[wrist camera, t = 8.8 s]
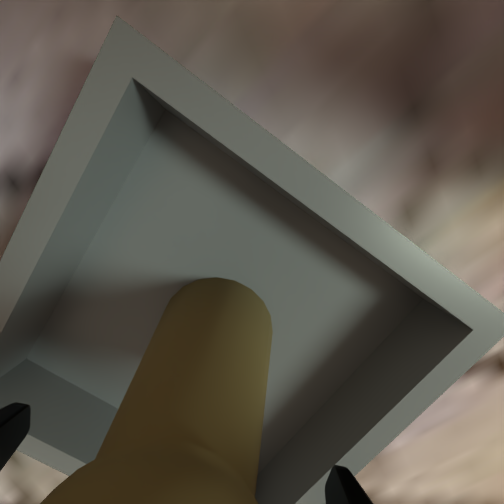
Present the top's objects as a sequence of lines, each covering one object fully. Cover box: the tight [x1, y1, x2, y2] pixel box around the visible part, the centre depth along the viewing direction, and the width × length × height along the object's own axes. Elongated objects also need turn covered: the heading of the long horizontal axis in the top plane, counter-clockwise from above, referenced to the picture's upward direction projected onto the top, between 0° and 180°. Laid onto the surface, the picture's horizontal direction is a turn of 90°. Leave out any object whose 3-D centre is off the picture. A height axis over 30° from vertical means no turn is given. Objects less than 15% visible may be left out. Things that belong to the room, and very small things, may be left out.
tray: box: [0, 16, 504, 504], centre depth 12 cm, size 18×18×4 cm
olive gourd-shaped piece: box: [40, 277, 273, 504], centre depth 8 cm, size 6×6×11 cm
